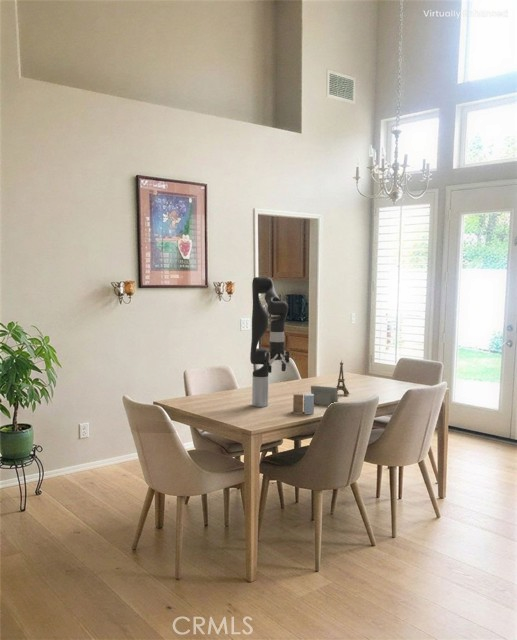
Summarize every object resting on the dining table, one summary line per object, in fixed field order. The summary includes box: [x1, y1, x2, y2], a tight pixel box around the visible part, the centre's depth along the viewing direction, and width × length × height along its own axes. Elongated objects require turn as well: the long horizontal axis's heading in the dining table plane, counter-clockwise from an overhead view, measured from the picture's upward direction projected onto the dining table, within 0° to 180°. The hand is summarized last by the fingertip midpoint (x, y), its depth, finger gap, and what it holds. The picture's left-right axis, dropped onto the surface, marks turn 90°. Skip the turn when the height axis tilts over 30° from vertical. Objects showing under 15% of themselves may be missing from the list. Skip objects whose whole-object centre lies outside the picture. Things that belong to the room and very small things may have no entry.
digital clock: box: [310, 385, 339, 406], centre depth 329 cm, size 16×9×11 cm, turn 57°
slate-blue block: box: [303, 393, 315, 415], centre depth 305 cm, size 5×5×10 cm
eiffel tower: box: [335, 360, 351, 398], centre depth 357 cm, size 11×11×25 cm
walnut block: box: [292, 393, 304, 414], centre depth 305 cm, size 5×5×10 cm
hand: (276, 371), depth 283 cm, fingers open, 8 cm apart
